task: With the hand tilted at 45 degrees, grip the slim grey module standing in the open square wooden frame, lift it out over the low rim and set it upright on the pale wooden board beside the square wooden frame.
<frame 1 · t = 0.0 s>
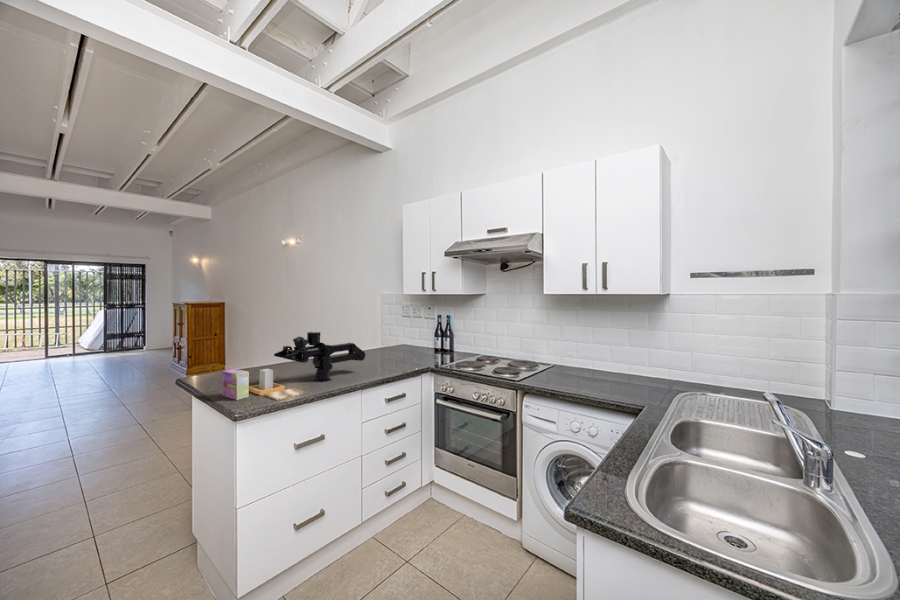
hand: (279, 356, 178), 17 cm above the worktop, tool horizontal, fingers open, 9 cm apart
square wooden frame: (266, 390, 176), on the worktop
module: (266, 380, 176), in the square wooden frame
box: (235, 397, 165), on the worktop
board: (284, 394, 171), on the worktop
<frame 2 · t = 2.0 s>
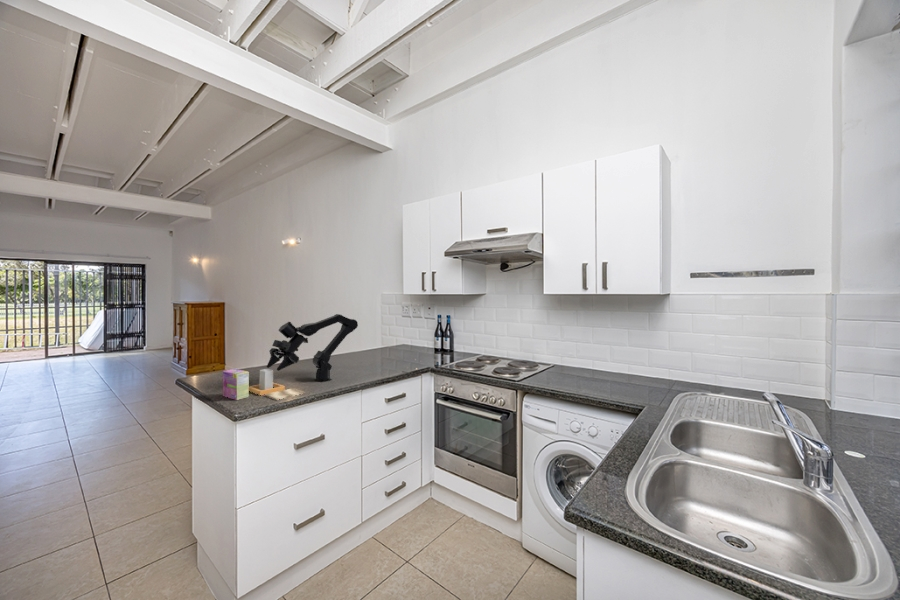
hand: (272, 368, 179), 10 cm above the worktop, tool tilted 45°, fingers open, 9 cm apart
nothing on the worktop moved.
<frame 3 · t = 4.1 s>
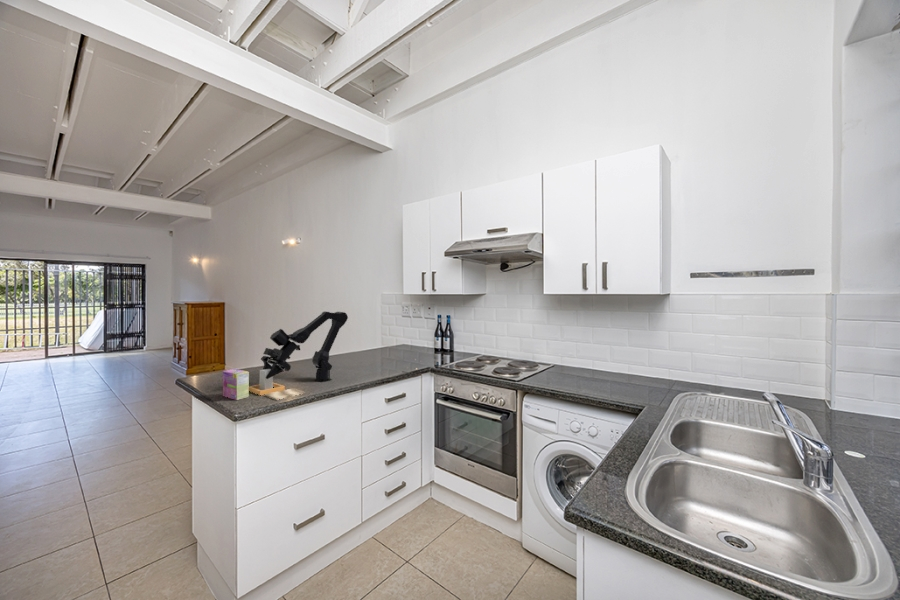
hand: (263, 377, 175), 7 cm above the worktop, tool tilted 45°, fingers closed on module, 5 cm apart
module: (266, 380, 176), in the square wooden frame, touching gripper
everything else where it was.
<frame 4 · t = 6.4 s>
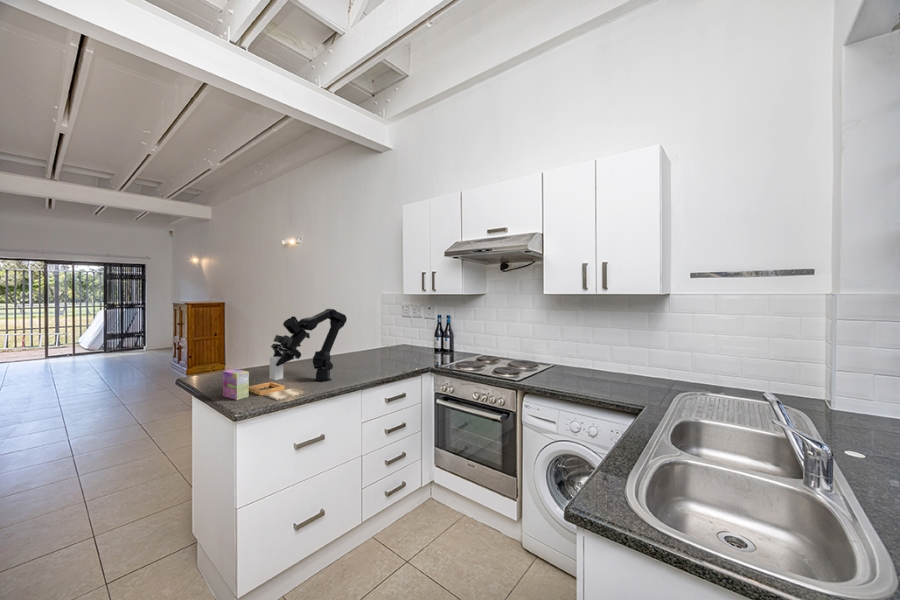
hand: (273, 364, 172), 14 cm above the worktop, tool tilted 45°, fingers closed on module, 5 cm apart
module: (276, 367, 173), point 12 cm above the worktop, touching gripper
everything else where it was.
when the fingers open (8 cm above the worktop, at t = 8.9 s): module drops 1 cm, resting on board.
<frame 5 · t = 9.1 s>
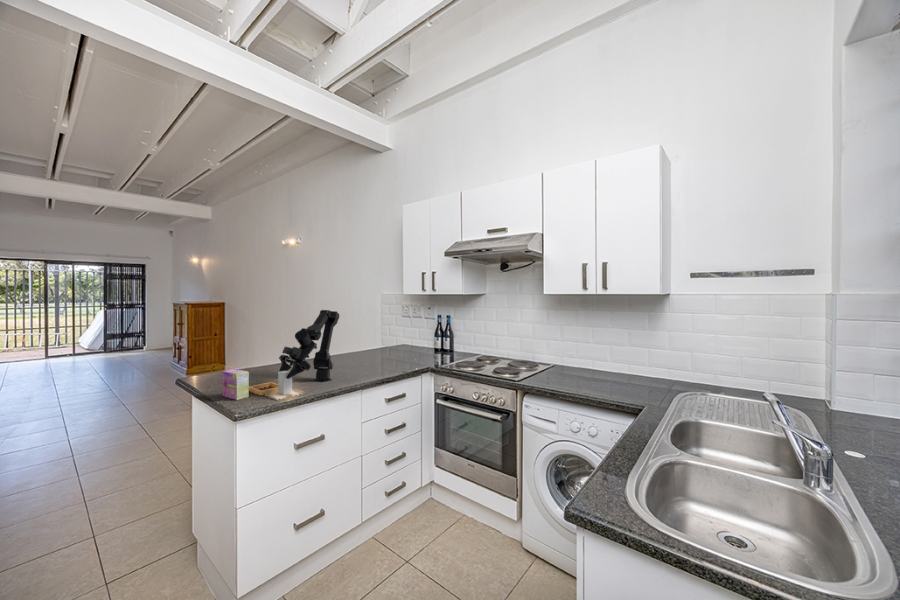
hand: (282, 377, 169), 9 cm above the worktop, tool tilted 45°, fingers open, 7 cm apart
module: (285, 382, 171), on the board, point 6 cm above the worktop
everything else where it was.
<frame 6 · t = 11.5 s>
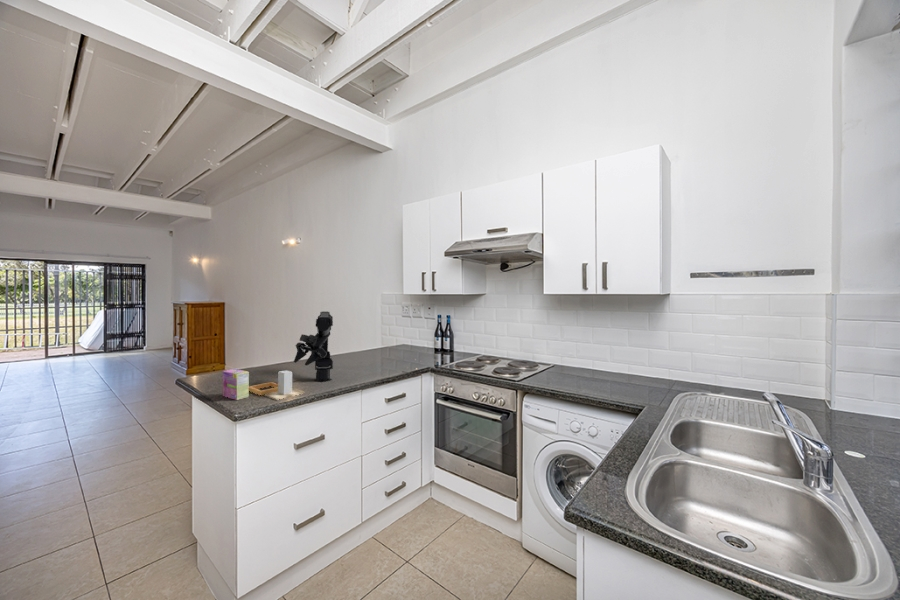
hand: (299, 363, 177), 14 cm above the worktop, tool tilted 45°, fingers open, 9 cm apart
nothing on the worktop moved.
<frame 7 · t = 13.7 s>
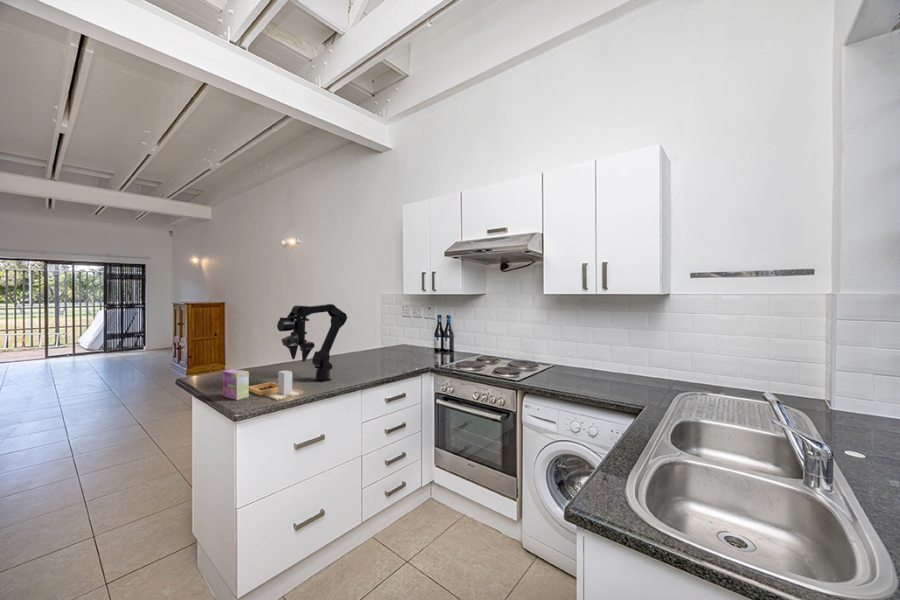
hand: (298, 360, 187), 13 cm above the worktop, tool pointing down, fingers open, 9 cm apart
nothing on the worktop moved.
at the end: module inside the target area on the board (0.0 cm from its centre), point 5.8 cm above the board's base; module tilted 0°; the gripper is holding nothing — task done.
